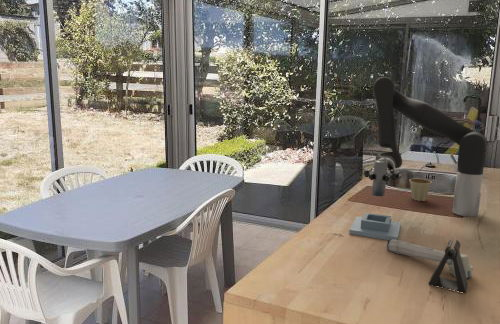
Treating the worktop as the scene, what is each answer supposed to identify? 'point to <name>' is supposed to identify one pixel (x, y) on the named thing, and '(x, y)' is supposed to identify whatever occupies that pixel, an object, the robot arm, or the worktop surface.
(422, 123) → the robot arm
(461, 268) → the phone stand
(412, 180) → the flower pot
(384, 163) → the steel axle
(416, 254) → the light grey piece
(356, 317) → the worktop surface
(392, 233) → the block
